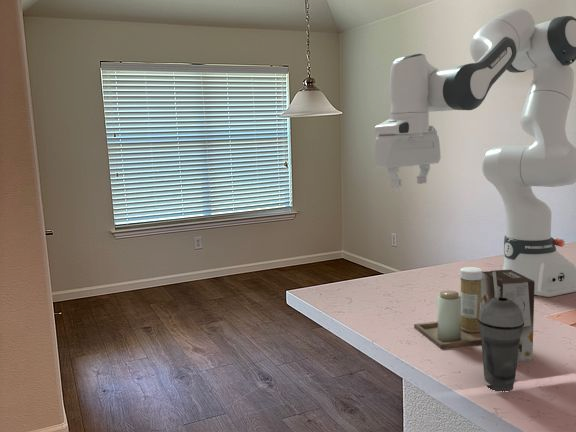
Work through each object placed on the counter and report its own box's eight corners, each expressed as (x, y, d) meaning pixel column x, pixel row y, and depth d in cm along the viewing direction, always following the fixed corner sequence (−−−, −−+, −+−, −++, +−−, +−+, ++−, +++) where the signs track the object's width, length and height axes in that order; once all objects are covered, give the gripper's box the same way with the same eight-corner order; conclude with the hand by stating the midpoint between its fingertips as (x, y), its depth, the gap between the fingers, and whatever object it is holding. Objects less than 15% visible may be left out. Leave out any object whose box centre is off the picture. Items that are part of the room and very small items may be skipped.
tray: (480, 324, 118) (480, 316, 118) (512, 343, 106) (513, 335, 106) (414, 331, 115) (414, 324, 115) (440, 353, 103) (440, 344, 103)
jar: (453, 333, 111) (453, 288, 109) (465, 341, 106) (465, 295, 105) (433, 336, 110) (433, 291, 108) (444, 344, 105) (444, 297, 104)
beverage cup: (518, 400, 84) (522, 280, 81) (472, 390, 88) (473, 275, 85) (525, 381, 91) (528, 269, 88) (481, 372, 94) (483, 265, 91)
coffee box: (534, 365, 97) (537, 281, 94) (501, 367, 96) (502, 283, 94) (509, 345, 106) (511, 268, 103) (478, 348, 105) (480, 270, 103)
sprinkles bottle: (486, 330, 112) (487, 268, 110) (473, 335, 109) (474, 272, 107) (468, 324, 116) (468, 265, 114) (454, 329, 113) (455, 268, 111)
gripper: (425, 125, 131) (425, 181, 133) (369, 127, 118) (370, 188, 120) (447, 124, 126) (446, 182, 128) (391, 126, 113) (391, 189, 115)
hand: (409, 185), depth 124 cm, fingers open, 8 cm apart
